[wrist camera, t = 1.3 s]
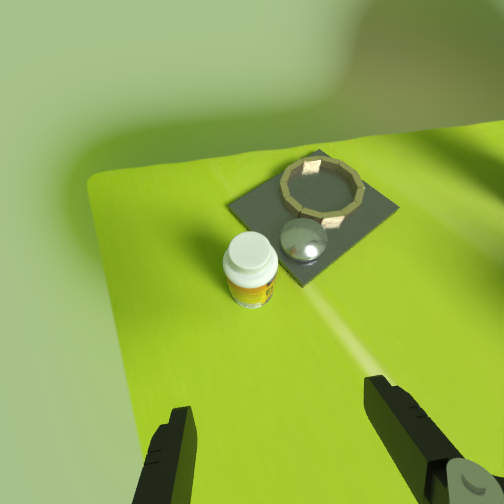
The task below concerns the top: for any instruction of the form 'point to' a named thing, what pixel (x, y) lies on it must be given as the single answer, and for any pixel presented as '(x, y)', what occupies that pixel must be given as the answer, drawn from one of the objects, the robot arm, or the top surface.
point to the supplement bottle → (250, 269)
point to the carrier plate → (313, 213)
